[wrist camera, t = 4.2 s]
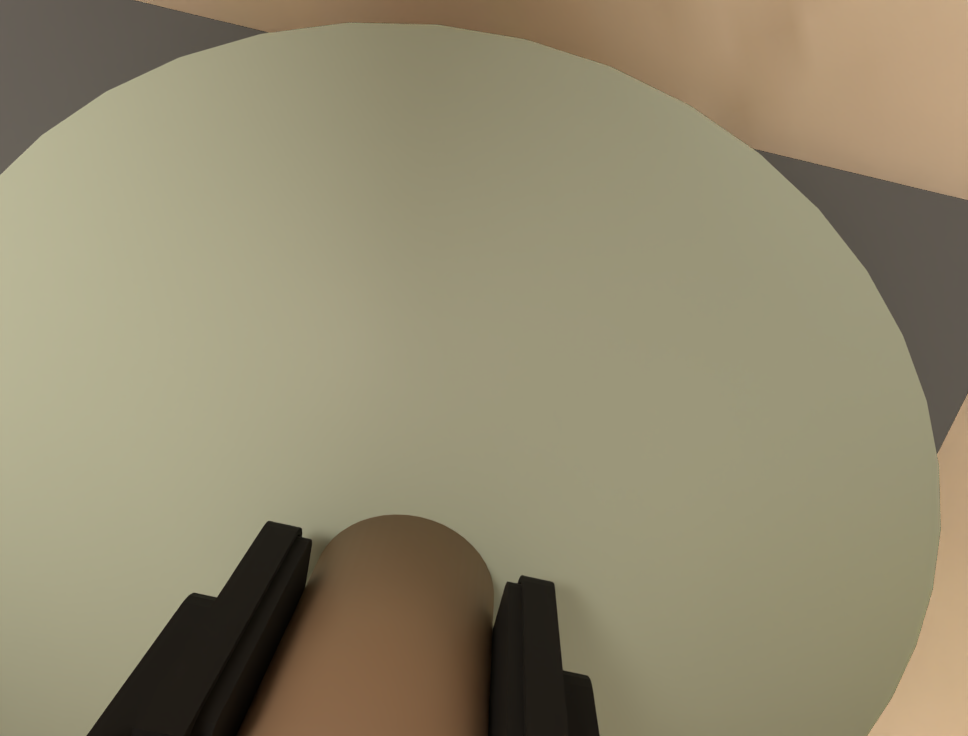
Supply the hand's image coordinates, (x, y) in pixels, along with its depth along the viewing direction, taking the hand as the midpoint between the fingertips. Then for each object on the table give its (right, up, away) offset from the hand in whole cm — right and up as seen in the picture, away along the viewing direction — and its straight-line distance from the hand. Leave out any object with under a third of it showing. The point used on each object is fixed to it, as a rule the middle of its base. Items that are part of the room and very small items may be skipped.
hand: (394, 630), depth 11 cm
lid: (0, 0, +2) cm, 2 cm away
